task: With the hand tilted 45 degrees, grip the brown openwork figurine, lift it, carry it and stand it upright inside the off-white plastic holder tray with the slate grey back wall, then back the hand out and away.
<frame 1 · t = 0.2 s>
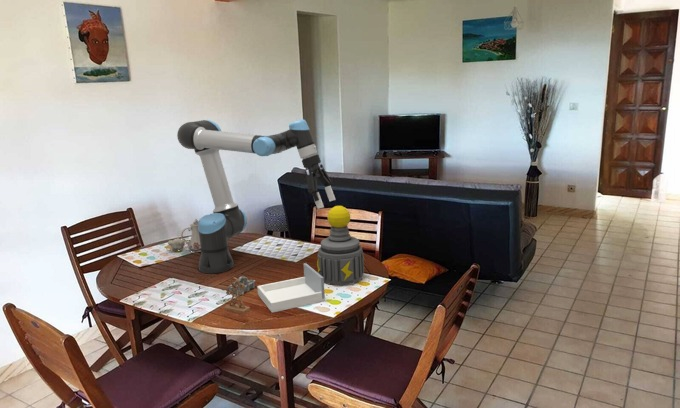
hand: (326, 204, 210), 28 cm above the table, tool tilted 20°, fingers open, 13 cm apart
holder tray: (290, 297, 185), on the table
brown openwork figurine: (237, 309, 177), on the table
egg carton: (242, 290, 195), on the table
chinaware: (197, 249, 249), on the table
decorative lamp: (341, 278, 203), on the table
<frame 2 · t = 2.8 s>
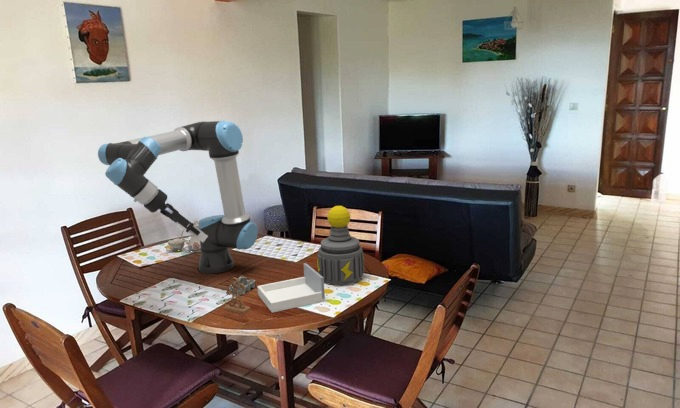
hand: (199, 235, 173), 27 cm above the table, tool tilted 40°, fingers open, 13 cm apart
nothing on the table moved.
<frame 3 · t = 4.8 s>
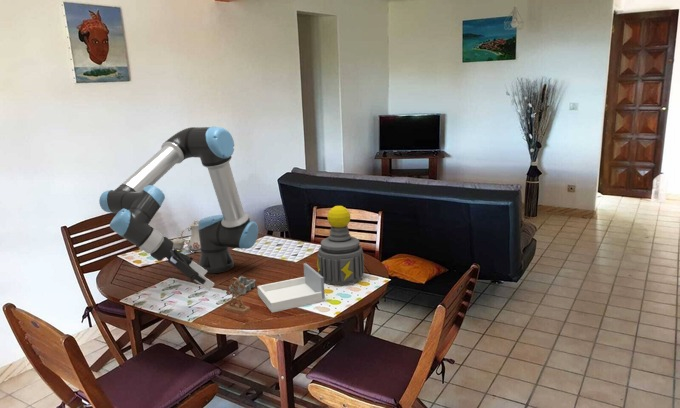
hand: (208, 280, 170), 13 cm above the table, tool tilted 45°, fingers open, 13 cm apart
nothing on the table moved.
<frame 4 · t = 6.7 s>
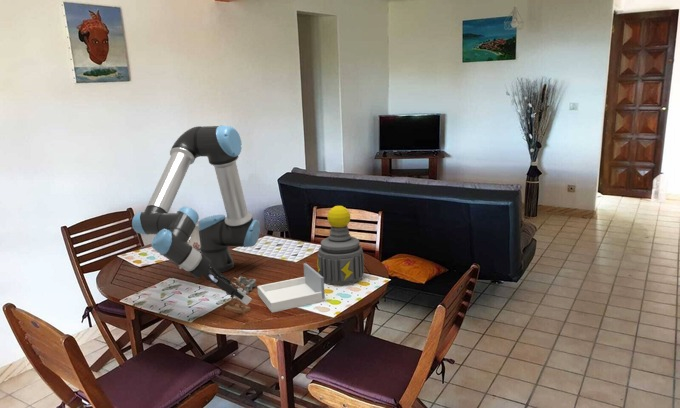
hand: (246, 298, 178), 3 cm above the table, tool tilted 45°, fingers open, 6 cm apart
brown openwork figurine: (237, 309, 177), on the table, touching gripper
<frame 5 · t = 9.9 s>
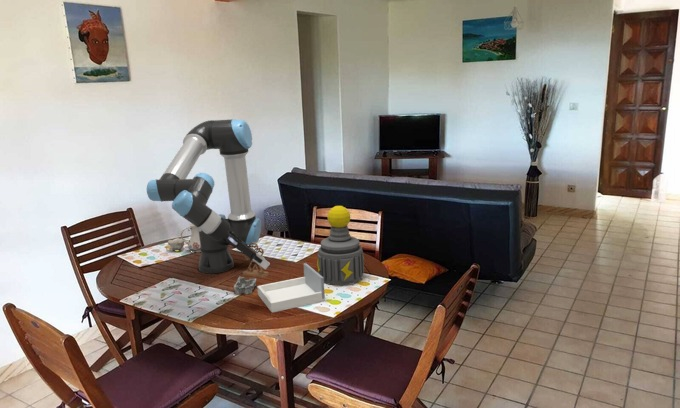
hand: (264, 263, 178), 15 cm above the table, tool tilted 45°, fingers closed on brown openwork figurine, 6 cm apart
brown openwork figurine: (255, 275, 177), point 12 cm above the table, touching gripper
when the fingers open (6 cm above the table, at t = 12.9 s): brown openwork figurine drops 1 cm, resting on holder tray.
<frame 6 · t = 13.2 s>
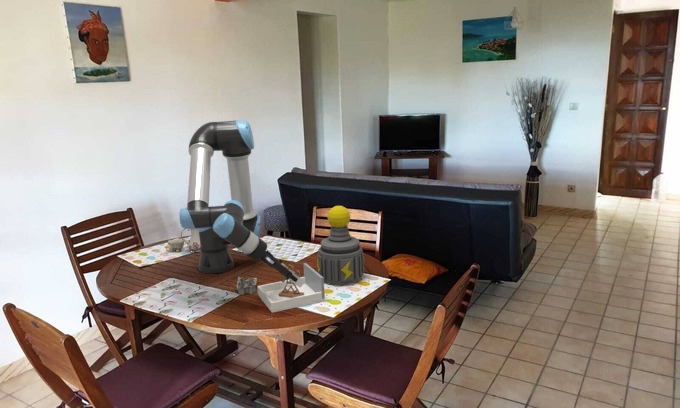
hand: (297, 279, 185), 6 cm above the table, tool tilted 45°, fingers open, 10 cm apart
brown openwork figurine: (291, 296, 185), point 1 cm above the table, touching holder tray
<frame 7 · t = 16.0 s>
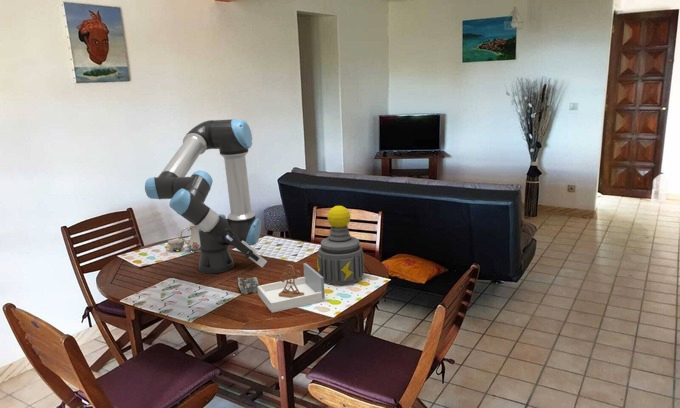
hand: (259, 258, 177), 17 cm above the table, tool tilted 45°, fingers open, 13 cm apart
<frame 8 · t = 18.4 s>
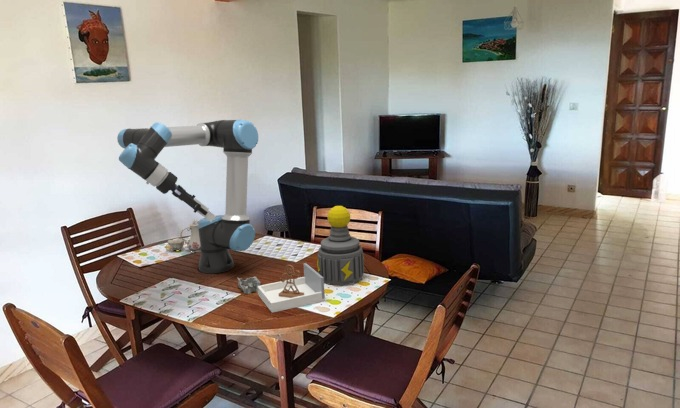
hand: (209, 215, 183), 32 cm above the table, tool tilted 45°, fingers open, 13 cm apart
at the end: brown openwork figurine inside the target area on the holder tray (0.5 cm from its centre), point 0.8 cm above the holder tray's base; brown openwork figurine tilted 0°; the gripper is holding nothing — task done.
